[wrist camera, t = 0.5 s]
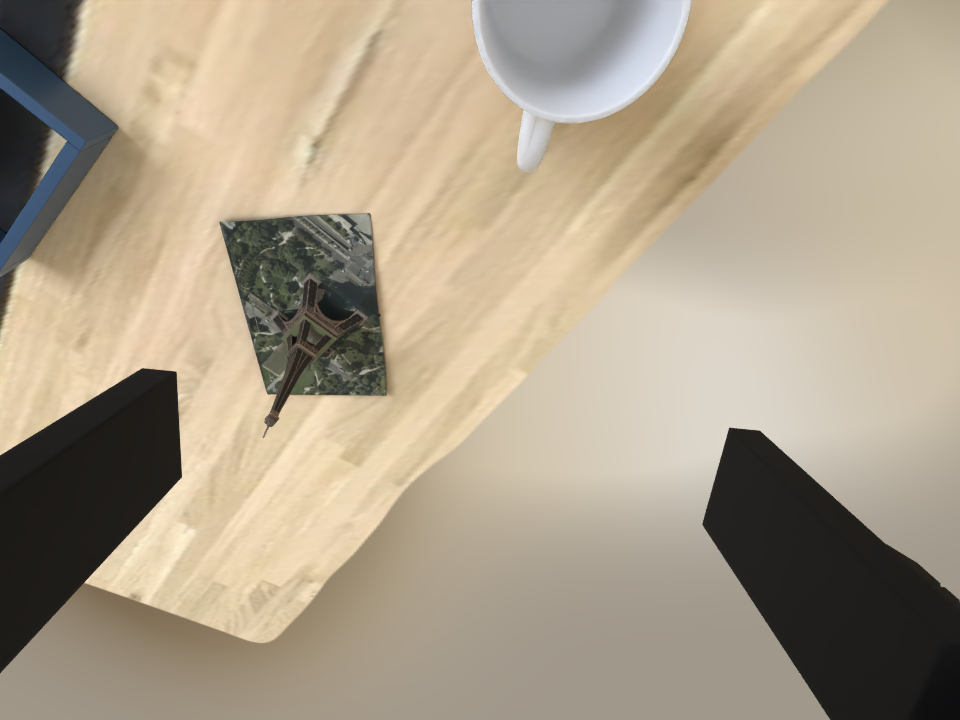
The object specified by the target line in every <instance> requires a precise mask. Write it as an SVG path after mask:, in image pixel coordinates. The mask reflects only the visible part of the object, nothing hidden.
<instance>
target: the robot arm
mask: <svg viewBox="0 0 960 720" xmlns="http://www.w3.org/2000/svg"><path fill="white" fill-rule="evenodd" d="M181 478H182V469H181V450H180V431H179V412H178V393H177V373H176V372H174V371H164V370H154V369H144V368H142V369H140V370H139V371H137V372H135V373H134V374H132V375H131V376H129V377H127V378H126V379H124V380H122V381H121V382H119V383H117V384H116V385H114V386H113V387H111V388H109V389H108V390H106V391H104V392H103V393H101V394H100V395H98V396H96V397H95V398H93V399H91V400H90V401H88V402H87V403H85V404H83V405H82V406H80V407H78V408H77V409H75V410H74V411H72V412H70V413H69V414H67V415H65V416H64V417H62V418H60V419H59V420H57V421H56V422H54V423H52V424H51V425H49V426H47V427H46V428H44V429H43V430H41V431H39V432H38V433H36V434H34V435H33V436H31V437H30V438H28V439H26V440H25V441H23V442H21V443H20V444H18V445H17V446H15V447H13V448H12V449H10V450H8V451H7V452H5V453H3V454H2V455H0V673H1V672H2V671H3V670H4V668H5V667H6V666H7V665H8V664H9V663H10V662H11V661H12V660H13V659H14V658H15V657H16V656H17V654H18V653H19V652H20V651H21V650H22V649H23V648H24V647H25V646H26V645H27V644H28V643H29V641H30V640H31V639H32V638H33V637H34V636H35V635H36V634H37V633H38V632H39V631H40V630H41V629H42V628H43V626H44V625H45V624H46V623H47V622H48V621H49V620H50V619H51V618H52V616H54V614H55V613H56V612H57V611H58V610H59V609H60V608H61V607H62V606H63V605H64V604H65V603H66V601H68V599H69V598H70V597H71V596H72V595H73V594H74V593H75V592H76V591H77V590H78V589H79V588H80V587H81V585H82V584H83V583H84V582H85V581H86V580H87V579H88V578H89V577H90V576H91V575H92V574H93V572H94V571H95V570H96V569H97V568H98V567H99V566H100V565H101V564H102V563H103V562H104V561H105V560H106V558H107V557H108V556H109V555H110V554H111V553H112V552H113V551H114V550H115V549H116V548H117V547H118V545H119V544H120V543H121V542H122V541H123V540H124V539H125V538H126V537H127V536H128V535H129V534H130V533H131V531H132V530H133V529H134V528H135V527H136V526H137V525H138V524H139V523H140V522H141V521H142V520H143V519H144V517H145V516H146V515H147V514H148V513H149V512H150V511H151V510H152V509H153V508H154V507H155V506H156V504H157V503H158V502H159V501H160V500H161V499H162V498H163V497H164V496H165V495H166V494H167V493H168V492H169V490H170V489H171V488H172V487H173V486H174V485H175V484H176V483H177V482H178V481H179V480H180V479H181ZM703 526H704V528H705V529H706V531H707V532H708V534H709V536H710V537H711V539H712V540H713V542H714V543H715V545H716V546H717V548H718V549H719V551H720V552H721V554H722V555H723V557H724V558H725V560H726V561H727V563H728V564H729V566H730V567H731V569H732V570H733V572H734V574H735V575H736V577H737V578H738V580H739V581H740V583H741V584H742V586H743V587H744V589H745V590H746V592H747V593H748V595H749V596H750V598H751V600H752V601H753V602H754V604H755V606H756V607H757V608H758V610H759V612H760V613H761V615H762V616H763V618H764V619H765V621H766V622H767V624H768V625H769V627H770V628H771V630H772V632H773V633H774V635H775V636H776V638H777V639H778V641H779V642H780V644H781V645H782V647H783V648H784V650H785V651H786V653H787V654H788V656H789V657H790V659H791V660H792V662H793V664H794V665H795V667H796V668H797V670H798V671H799V673H800V674H801V675H802V677H803V679H804V680H805V682H806V683H807V685H808V686H809V688H810V689H811V691H812V692H813V694H814V695H815V697H816V698H817V700H818V702H819V703H820V704H821V706H822V708H823V709H824V711H825V712H826V714H827V715H828V717H829V718H830V720H960V601H959V599H957V598H956V597H955V596H954V595H953V594H952V593H951V592H950V591H948V590H947V589H946V588H945V587H941V586H940V583H939V582H938V581H937V580H936V579H935V578H934V577H933V576H931V575H930V574H929V573H928V572H927V571H926V570H925V569H923V568H922V567H921V566H920V565H919V564H918V563H916V562H915V561H913V560H911V559H910V558H908V557H906V556H905V555H903V554H901V553H900V552H898V551H897V550H895V549H893V548H892V547H890V546H889V545H886V544H885V543H884V542H883V541H882V540H880V539H879V538H878V537H877V536H876V535H875V534H874V533H873V532H872V531H871V530H869V529H868V528H867V527H866V526H865V525H864V524H863V523H862V522H861V521H859V520H858V519H857V518H856V517H855V516H854V515H853V514H852V513H851V512H849V511H848V510H847V509H846V508H845V507H844V506H843V505H841V503H839V502H838V501H837V500H836V499H835V498H834V497H833V496H832V495H831V494H829V493H828V492H827V491H826V490H825V489H824V488H823V487H821V485H819V484H818V483H817V482H816V481H815V480H814V479H813V478H812V477H811V476H809V475H808V474H807V473H806V472H805V471H804V470H803V469H802V468H801V467H799V466H798V465H797V464H796V463H795V462H794V461H793V460H792V459H791V458H789V457H788V456H787V455H786V454H785V453H784V452H783V451H782V450H781V449H779V448H778V447H777V446H776V445H775V444H774V443H773V442H772V441H771V440H769V439H768V438H767V437H766V436H765V435H764V434H763V433H762V432H761V431H757V430H747V429H737V428H729V431H728V434H727V438H726V442H725V445H724V449H723V452H722V456H721V459H720V463H719V466H718V470H717V474H716V477H715V481H714V484H713V488H712V492H711V495H710V499H709V502H708V506H707V509H706V513H705V517H704V520H703Z"/></svg>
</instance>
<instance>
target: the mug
mask: <svg viewBox="0 0 960 720" xmlns="http://www.w3.org/2000/svg"><path fill="white" fill-rule="evenodd" d="M690 7H691V0H472V17H473V27H474V33H475V38H476V42H477V46H478V49H479V52H480V55H481V58H482V60H483V62H484V65H485V67H486V69H487V71H488V72H489V74H490V76H491V77H492V79H493V81H494V82H495V83H496V85H497V86H498V87H499V89H500V90H501V91H502V92H503V93H504V94H505V95H506V96H507V97H508V98H509V99H510V100H511V101H512V102H514V103H515V104H516V105H517V106H519V107H520V108H522V109H523V110H524V111H523V116H522V122H521V128H520V135H519V142H518V152H517V164H518V168H519V169H520V170H521V171H522V172H525V173H533V172H534V171H536V169H537V168H538V167H539V165H540V163H541V161H542V159H543V157H544V154H545V152H546V149H547V146H548V144H549V141H550V138H551V135H552V132H553V129H554V126H555V124H556V122H560V123H583V122H590V121H594V120H598V119H601V118H604V117H607V116H610V115H612V114H614V113H616V112H618V111H620V110H622V109H624V108H625V107H627V106H628V105H630V104H631V103H633V102H634V101H636V100H637V99H638V98H639V97H641V96H642V95H643V94H644V93H645V92H646V91H647V90H648V89H649V88H650V87H651V86H652V85H653V84H654V83H655V82H656V81H657V79H658V78H659V77H660V76H661V74H662V73H663V72H664V70H665V69H666V67H667V66H668V64H669V63H670V61H671V59H672V58H673V56H674V54H675V52H676V50H677V48H678V46H679V44H680V41H681V39H682V36H683V34H684V31H685V28H686V24H687V21H688V17H689V12H690Z"/></svg>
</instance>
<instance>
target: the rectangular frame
mask: <svg viewBox="0 0 960 720" xmlns="http://www.w3.org/2000/svg"><path fill="white" fill-rule="evenodd" d="M0 88H1V89H2V90H4V91H5V92H6V93H7V94H9V95H10V96H11V97H12V98H14V99H15V100H16V101H17V102H19V103H20V104H21V105H23V106H24V107H25V108H26V109H28V110H29V111H30V112H31V113H33V114H34V115H35V116H37V117H38V118H39V119H40V120H42V121H43V122H44V123H45V124H47V125H48V126H49V127H51V128H52V129H53V130H54V131H56V132H57V133H58V134H59V135H61V136H62V137H63V138H65V139H66V140H67V142H66V143H65V145H64V147H63V148H62V150H61V151H60V153H59V154H58V156H57V157H56V159H55V160H54V162H53V163H52V165H51V167H50V168H49V170H48V171H47V173H46V174H45V176H44V177H43V179H42V180H41V182H40V184H39V185H38V187H37V188H36V190H35V191H34V193H33V194H32V196H31V197H30V199H29V201H28V202H27V204H26V205H25V207H24V208H23V210H22V211H21V213H20V214H19V216H18V217H17V219H16V221H15V222H14V224H13V225H12V227H11V228H10V230H9V231H8V233H7V234H6V233H4V232H3V231H1V230H0V277H1V276H2V275H4V274H5V273H7V272H9V271H10V270H12V269H13V268H15V267H16V266H18V265H19V264H21V263H22V262H24V261H25V260H27V259H28V258H29V257H30V255H31V254H32V252H33V251H34V249H35V248H36V247H37V245H38V244H39V242H40V241H41V239H42V238H43V236H44V235H45V234H46V232H47V231H48V229H49V228H50V226H51V225H52V223H53V222H54V220H55V219H56V218H57V216H58V215H59V213H60V212H61V210H62V209H63V207H64V206H65V205H66V203H67V202H68V200H69V199H70V197H71V196H72V194H73V193H74V191H75V190H76V189H77V187H78V186H79V184H80V183H81V181H82V180H83V178H84V177H85V176H86V174H87V173H88V171H89V170H90V168H91V167H92V165H93V164H94V163H95V161H96V160H97V158H98V157H99V155H100V154H101V152H102V151H103V149H104V148H105V147H106V145H107V144H108V142H109V141H110V139H111V138H112V136H113V135H114V133H115V132H116V130H117V129H118V126H117V125H116V124H115V123H113V122H112V121H111V120H110V119H108V118H107V117H106V116H105V115H104V114H102V113H101V112H100V111H99V110H98V109H96V108H95V107H94V106H93V105H92V104H90V103H89V102H88V101H87V100H86V99H84V98H83V97H82V96H81V95H80V94H78V93H77V92H76V91H75V90H73V89H72V88H71V87H70V86H69V85H67V84H66V83H65V82H64V81H63V80H61V79H60V78H59V77H58V76H57V75H55V74H54V73H53V72H52V71H51V70H49V69H48V68H47V67H46V66H45V65H43V64H42V63H41V62H40V61H39V60H37V59H36V58H35V57H34V56H32V55H31V54H30V53H29V52H28V51H26V50H25V49H24V48H23V47H22V46H20V45H19V44H18V43H17V42H16V41H14V40H13V39H12V38H11V37H10V36H8V35H7V34H6V33H5V32H4V31H2V30H1V29H0Z"/></svg>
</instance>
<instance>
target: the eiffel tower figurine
mask: <svg viewBox="0 0 960 720" xmlns="http://www.w3.org/2000/svg"><path fill="white" fill-rule="evenodd" d="M220 226H221V230H222V233H223V237H224V241H225V244H226V248H227V251H228V255H229V258H230V262H231V266H232V269H233V273H234V276H235V280H236V284H237V287H238V291H239V294H240V298H241V302H242V305H243V309H244V313H245V316H246V320H247V323H248V327H249V331H250V334H251V338H252V341H253V345H254V349H255V352H256V356H257V359H258V363H259V366H260V370H261V373H262V377H263V380H264V384H265V388H266V391H267V394H277V396H276V398H275V401H274V404H273V406H272V409H271V411H270V414H269V415H268V416H267V417H266V418H265V422H264V423H265V424H267V426H268V427H267V429H266V431H265V433H264V435H263V438H264V436H265V434H266V432H267V430H268V428H269V427H272V426H273V425H274V424H275V423H276V422H277V421H278V420H279V417H278V415H279V413H280V411H281V409H282V407H283V406H284V404H285V402H286V400H287V399H288V397H289V395H380V396H387V393H386V375H385V361H384V350H383V343H382V336H381V329H380V322H379V316H380V314H378V306H377V297H376V286H375V275H374V261H373V246H372V232H371V220H370V214H345V215H317V216H300V217H288V218H278V219H268V220H254V221H230V222H220Z"/></svg>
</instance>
